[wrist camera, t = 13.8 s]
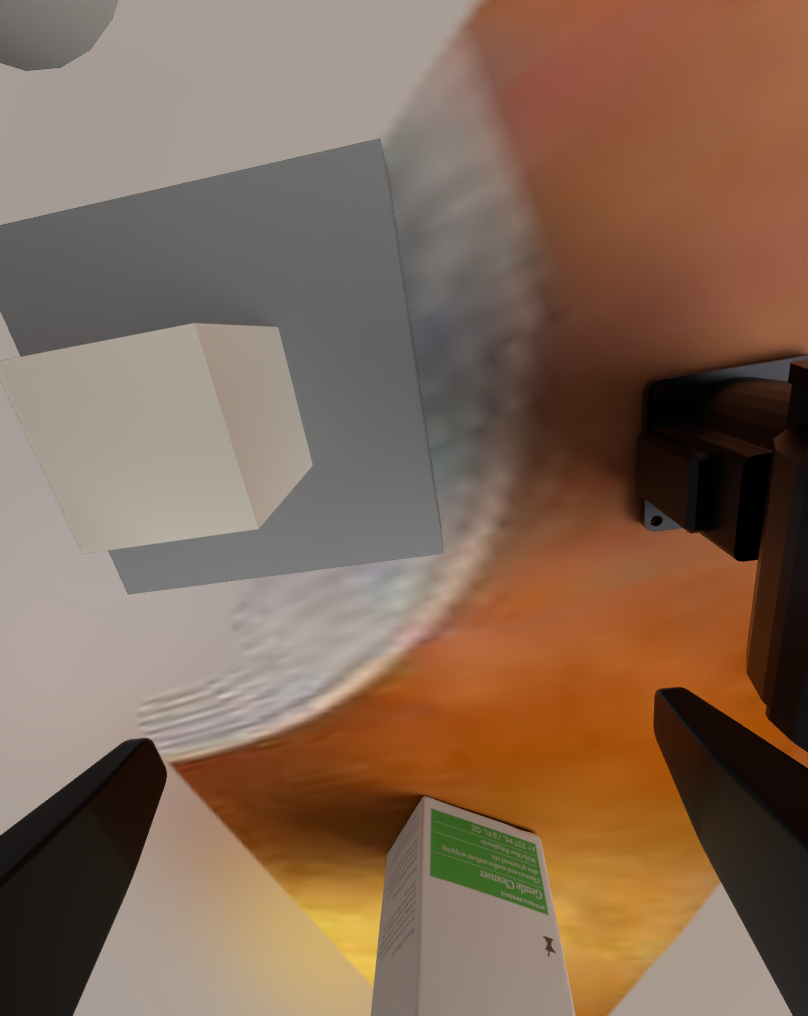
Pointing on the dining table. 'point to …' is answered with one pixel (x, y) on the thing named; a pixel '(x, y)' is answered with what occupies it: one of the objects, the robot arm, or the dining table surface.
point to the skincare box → (467, 921)
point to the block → (163, 432)
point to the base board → (258, 302)
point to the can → (50, 30)
